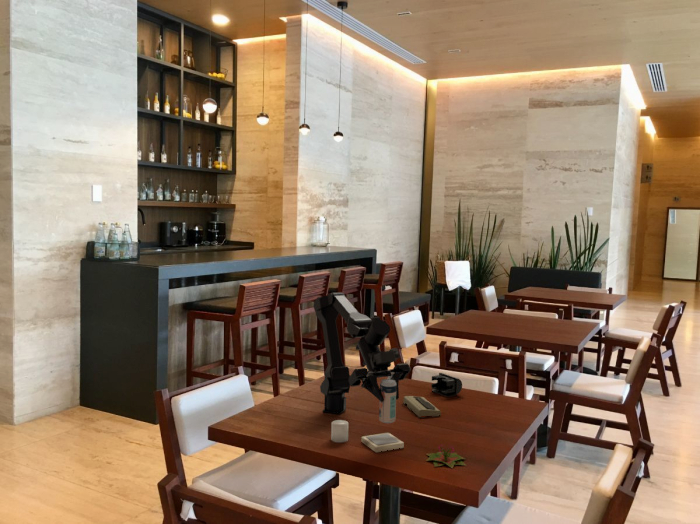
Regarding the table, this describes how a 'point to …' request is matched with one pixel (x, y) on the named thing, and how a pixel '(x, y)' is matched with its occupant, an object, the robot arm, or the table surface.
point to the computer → (421, 406)
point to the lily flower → (445, 455)
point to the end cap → (446, 385)
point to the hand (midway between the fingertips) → (390, 400)
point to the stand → (382, 442)
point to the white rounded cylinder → (339, 431)
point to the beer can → (388, 401)
